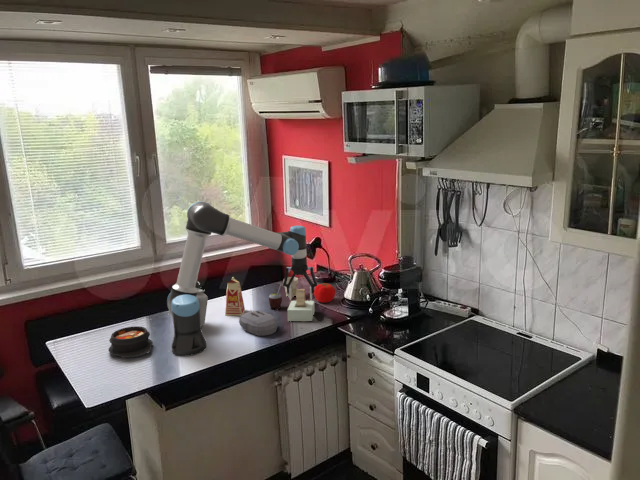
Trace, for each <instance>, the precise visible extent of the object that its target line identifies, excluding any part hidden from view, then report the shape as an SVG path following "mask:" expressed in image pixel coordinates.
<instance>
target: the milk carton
mask: <svg viewBox="0 0 640 480" xmlns="http://www.w3.org/2000/svg"><path fill="white" fill-rule="evenodd" d="M225 297H226V299H225V302H226V303H225V312H224V313H225V314H224V316H227V317H228V316H230V317H231V316H232V317H233V316H234V317H235V316H237V317H238V316H239V317H240V316H241V315H243V314H245V310H246V309H245V303H244V302H245V301H244V297H243V293H242V287H241V283H240V281H239V280H237V279H235V277H234V276H232V277H231V279H230V281H228V282H227V287H226V293H225Z"/></svg>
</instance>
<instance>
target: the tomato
mask: <svg viewBox="0 0 640 480" xmlns="http://www.w3.org/2000/svg"><path fill="white" fill-rule="evenodd" d="M313 295H314V298H315V300H316V301H317V302H319V303H330V302H332V301H333V299H334V298H335V296H336V289H335V287H334V286H332V284H330V283H327V282H326V283H325V282H323V283H317V286H315V287H314V293H313Z"/></svg>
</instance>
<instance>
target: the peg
mask: <svg viewBox="0 0 640 480" xmlns="http://www.w3.org/2000/svg"><path fill="white" fill-rule="evenodd" d="M295 301H296V303H297V307H306V305H305V301H306V289H305V288H297V290H296V297H295Z"/></svg>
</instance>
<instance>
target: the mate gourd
mask: <svg viewBox="0 0 640 480" xmlns="http://www.w3.org/2000/svg"><path fill="white" fill-rule="evenodd" d="M283 283H284V281H283V282H282V283H280V285H279V287H278V291H277V292H272V293H269V295H268V303H269V306H270V307H269V309H270V310H271V309H272V310H277V309H279V310H280V308H282V302H283V297H282V294H281V293H280V290H281V287H282V286H283ZM279 307H280V308H279ZM274 308H276V309H274Z"/></svg>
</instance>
